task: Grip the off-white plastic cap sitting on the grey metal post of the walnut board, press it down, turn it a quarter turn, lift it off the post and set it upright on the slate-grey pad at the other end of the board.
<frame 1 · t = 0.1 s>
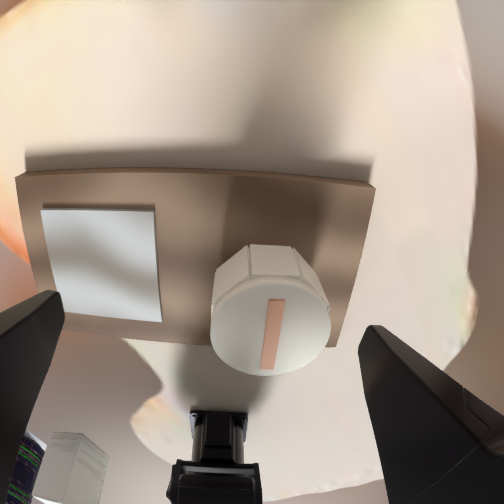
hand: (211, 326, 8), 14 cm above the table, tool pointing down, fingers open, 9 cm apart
cap: (265, 290, 21), point 3 cm above the table, touching post board
supplement box: (80, 443, 38), on the table
storage jar: (24, 442, 40), on the table
post board: (181, 260, 24), on the table
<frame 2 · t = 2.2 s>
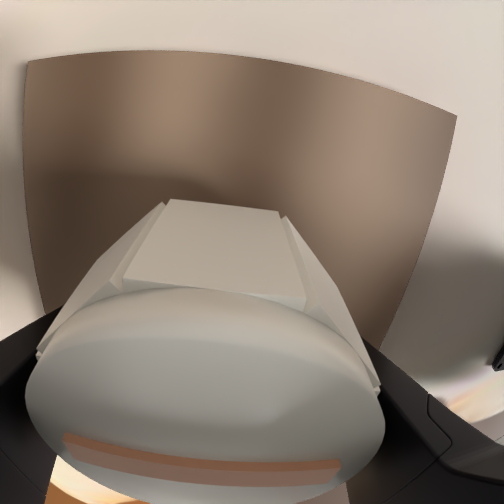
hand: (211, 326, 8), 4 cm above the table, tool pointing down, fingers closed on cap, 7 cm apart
cap: (211, 319, 9), point 3 cm above the table, touching gripper, post board
post board: (207, 370, 14), on the table
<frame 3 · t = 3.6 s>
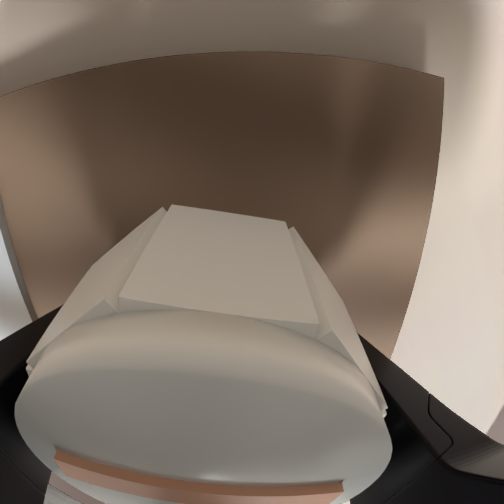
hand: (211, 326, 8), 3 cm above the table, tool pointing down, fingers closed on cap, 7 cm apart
cap: (211, 330, 8), point 4 cm above the table, touching gripper
supplement box: (53, 490, 26), on the table
post board: (70, 267, 11), on the table
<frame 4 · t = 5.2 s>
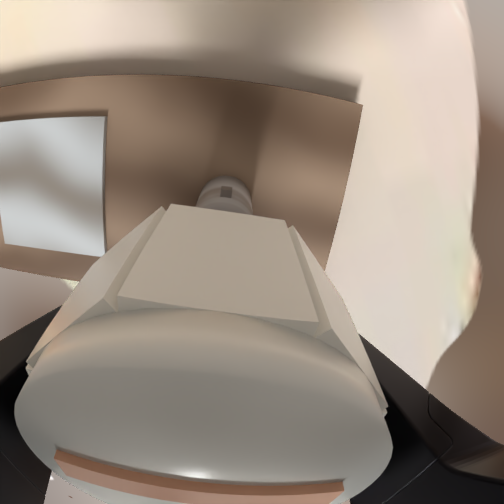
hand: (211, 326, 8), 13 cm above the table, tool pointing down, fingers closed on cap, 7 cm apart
cap: (211, 329, 8), point 13 cm above the table, touching gripper
post board: (134, 184, 19), on the table
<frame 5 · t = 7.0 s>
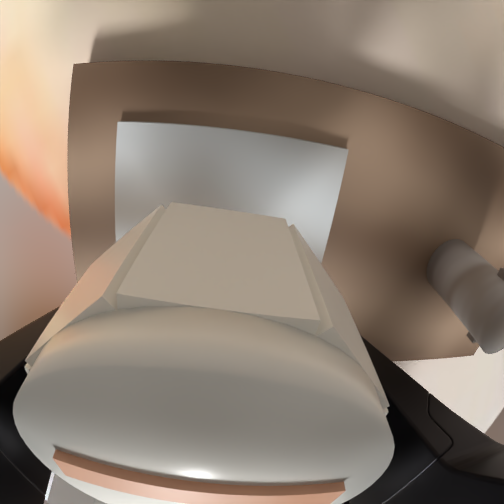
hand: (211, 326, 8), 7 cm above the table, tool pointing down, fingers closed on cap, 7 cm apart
cap: (211, 328, 8), point 7 cm above the table, touching gripper
supplement box: (96, 472, 29), on the table
post board: (343, 238, 16), on the table
when the fingers open (3 cm above the table, at t = 8.6 s): cap drops 2 cm, resting on post board.
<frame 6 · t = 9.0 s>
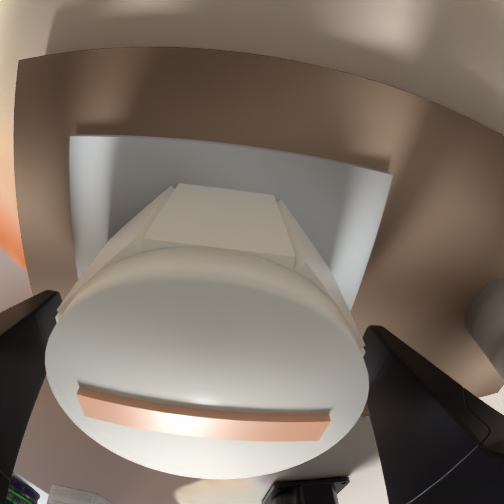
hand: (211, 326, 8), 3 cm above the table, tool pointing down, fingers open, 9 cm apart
cap: (213, 294, 10), point 2 cm above the table, touching post board
supplement box: (91, 498, 25), on the table
storage jar: (12, 480, 27), on the table
post board: (371, 281, 12), on the table
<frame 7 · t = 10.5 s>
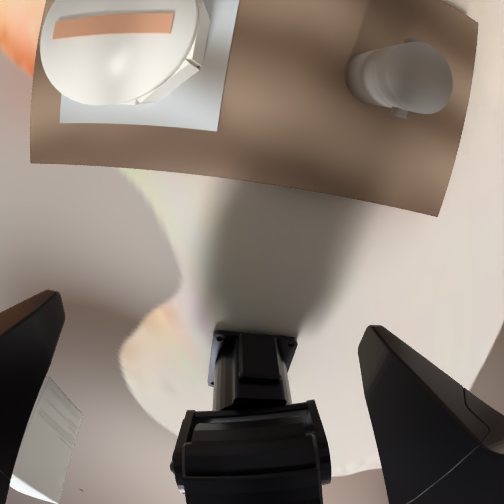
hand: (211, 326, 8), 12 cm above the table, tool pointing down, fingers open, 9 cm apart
cap: (142, 40, 13), point 2 cm above the table, touching post board
supplement box: (47, 395, 29), on the table
post board: (258, 55, 15), on the table
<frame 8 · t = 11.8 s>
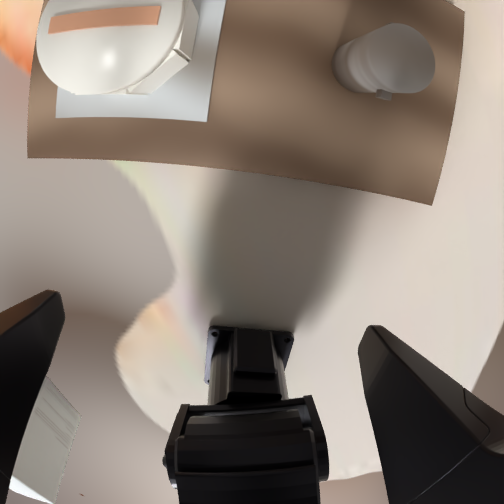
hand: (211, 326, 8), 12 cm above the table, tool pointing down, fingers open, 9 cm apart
cap: (134, 36, 13), point 2 cm above the table, touching post board
supplement box: (45, 395, 28), on the table
post board: (247, 49, 15), on the table
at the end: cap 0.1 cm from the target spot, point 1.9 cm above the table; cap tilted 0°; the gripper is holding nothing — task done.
